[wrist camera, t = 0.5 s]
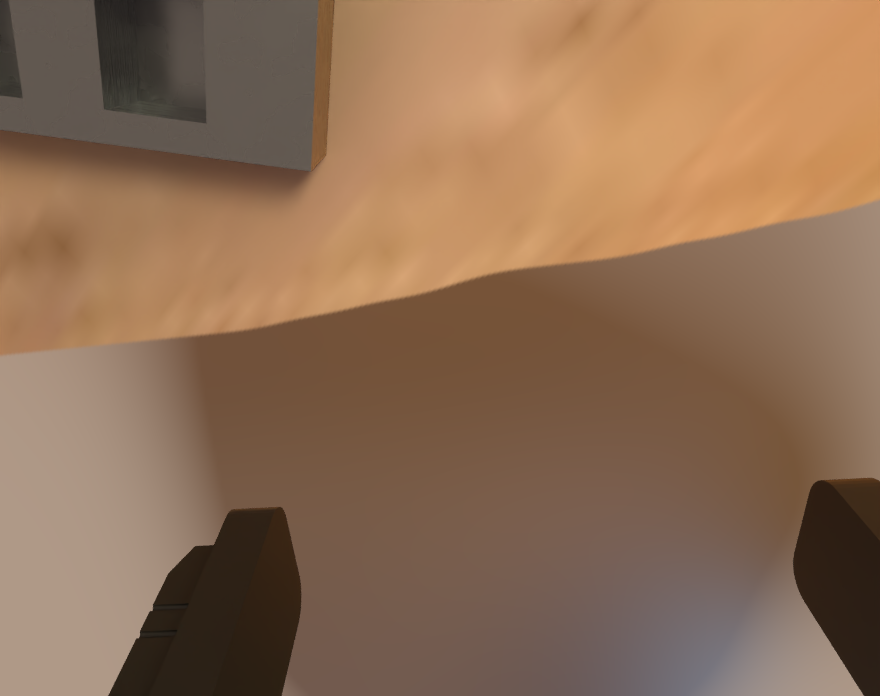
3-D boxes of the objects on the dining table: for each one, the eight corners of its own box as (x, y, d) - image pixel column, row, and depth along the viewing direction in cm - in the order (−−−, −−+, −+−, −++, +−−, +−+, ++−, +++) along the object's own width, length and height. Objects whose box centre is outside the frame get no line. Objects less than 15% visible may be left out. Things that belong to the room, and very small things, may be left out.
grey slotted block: (-153, -93, 29) (-249, -113, 25) (335, -18, 30) (319, -26, 26) (-110, 95, 32) (-188, 104, 28) (326, 154, 34) (310, 171, 30)
